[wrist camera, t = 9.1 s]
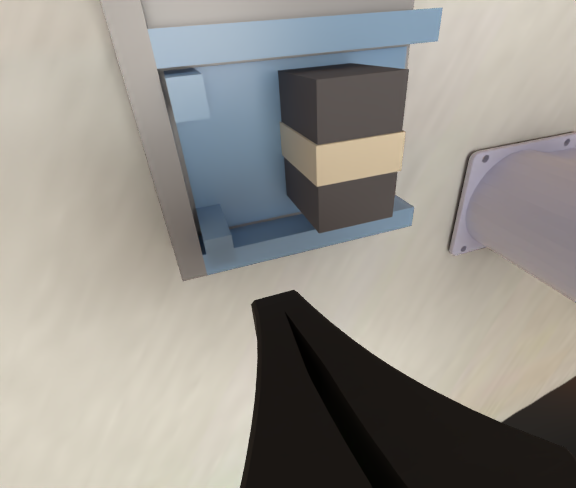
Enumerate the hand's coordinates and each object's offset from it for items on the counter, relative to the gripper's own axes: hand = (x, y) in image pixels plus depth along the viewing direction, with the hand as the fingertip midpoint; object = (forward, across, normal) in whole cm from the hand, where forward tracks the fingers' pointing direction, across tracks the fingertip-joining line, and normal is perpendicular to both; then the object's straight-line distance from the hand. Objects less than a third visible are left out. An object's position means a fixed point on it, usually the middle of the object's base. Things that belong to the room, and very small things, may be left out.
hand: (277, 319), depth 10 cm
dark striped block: (+9, -5, -3) cm, 11 cm away
